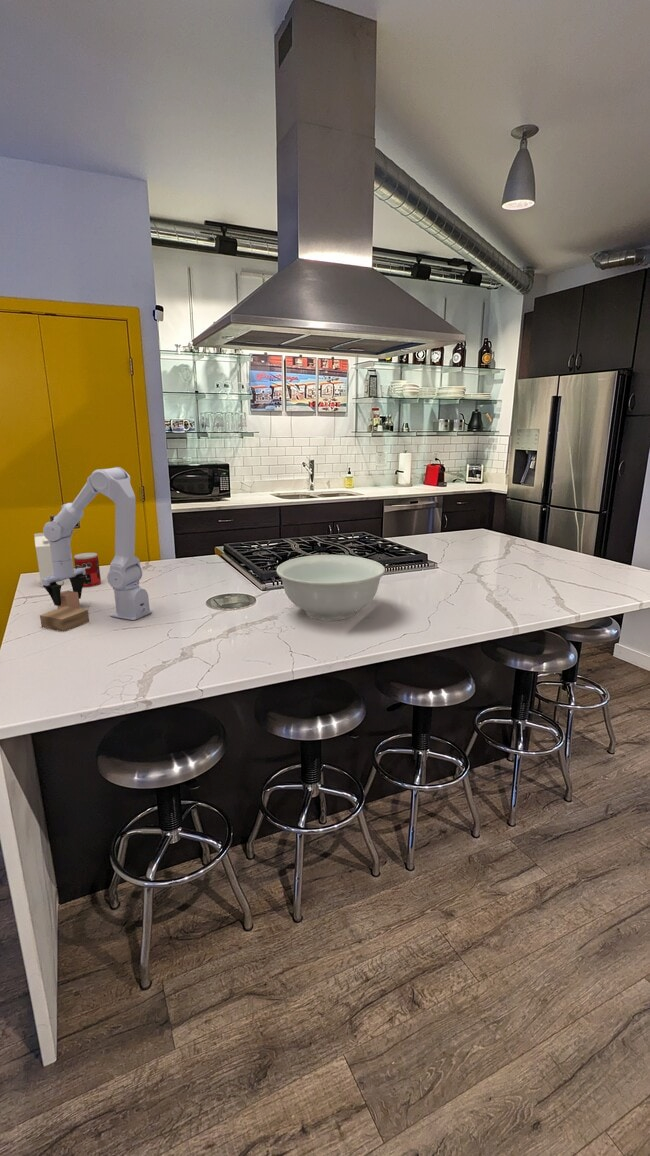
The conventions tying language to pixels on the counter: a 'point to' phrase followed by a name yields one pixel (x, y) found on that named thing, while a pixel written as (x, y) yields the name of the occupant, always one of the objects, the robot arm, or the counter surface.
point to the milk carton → (44, 557)
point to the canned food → (89, 568)
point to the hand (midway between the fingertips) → (67, 601)
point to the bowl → (330, 584)
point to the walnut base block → (64, 618)
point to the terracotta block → (69, 599)
